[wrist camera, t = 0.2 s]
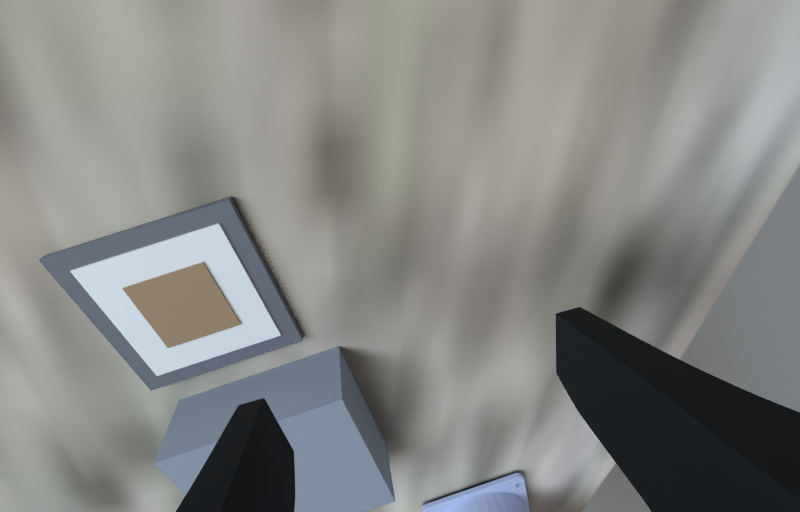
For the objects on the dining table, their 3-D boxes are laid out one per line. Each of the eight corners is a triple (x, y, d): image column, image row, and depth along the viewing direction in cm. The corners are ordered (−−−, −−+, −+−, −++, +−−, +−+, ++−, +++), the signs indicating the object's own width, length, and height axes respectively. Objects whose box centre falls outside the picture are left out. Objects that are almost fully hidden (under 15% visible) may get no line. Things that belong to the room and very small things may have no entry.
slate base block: (385, 440, 26) (395, 501, 23) (254, 485, 26) (244, 553, 22) (338, 342, 22) (342, 399, 18) (180, 395, 21) (153, 463, 18)
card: (302, 335, 21) (302, 343, 20) (153, 384, 20) (149, 393, 20) (230, 196, 17) (227, 201, 16) (44, 255, 16) (35, 262, 16)
